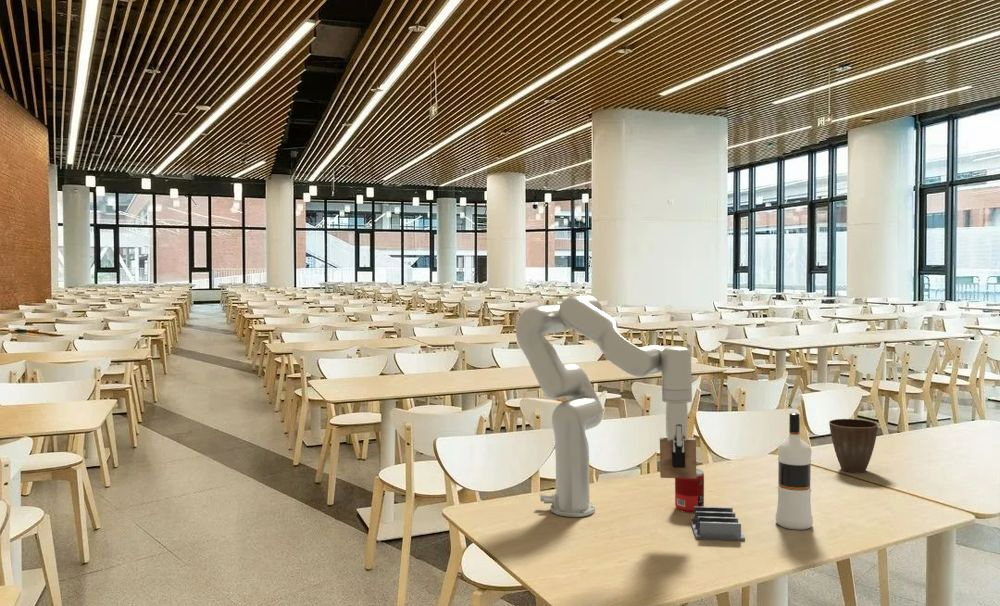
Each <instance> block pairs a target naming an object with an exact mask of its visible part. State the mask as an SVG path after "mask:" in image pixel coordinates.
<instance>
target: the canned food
mask: <svg viewBox="0 0 1000 606" xmlns="http://www.w3.org/2000/svg"><path fill="white" fill-rule="evenodd" d="M696 477H697V479H695V478H674V505H675V508H676V510H677V511H679V512H682V511H683V513H687V512H689V514H694V506H702V507H705V473H704V471H703V469H699V468H696ZM692 512H693V513H692Z"/></svg>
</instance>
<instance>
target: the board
mask: <svg viewBox="0 0 1000 606" xmlns="http://www.w3.org/2000/svg"><path fill="white" fill-rule="evenodd" d="M674 440H677V438H674ZM675 444H676V443H675ZM672 452H673V440H670V441H668V440H667V437H659V467H660V468H659V469H660V470H659V471H660V472H659V473H660V474H659V476H660V479H675V478H695V479H697V477H696V469H697V439H696V437H687V440H686V441H684V452H685V468H673V466H672Z"/></svg>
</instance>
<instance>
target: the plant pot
mask: <svg viewBox="0 0 1000 606" xmlns="http://www.w3.org/2000/svg"><path fill="white" fill-rule="evenodd" d="M828 425H829V430H830V436H831V441H832V443H833V445H832V446H833V448H834V452H835V456H836V458H837V461H838V463H839V466H840V469H841V470H842V471H844V470H845V471H844V472H847V471H849V472H848V473H853V472H861V473H865V472H866V470H867V469H868V466H869V463H870V461H871V458H872V456H873V452H874V448H875V444H876V439H877V435H878V430H879V429H878V428H879V424H878V423H877V422H874V421H870V420H864V419H858V418H857V419H856V418H836V419H832V420H829V422H828Z"/></svg>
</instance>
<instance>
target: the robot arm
mask: <svg viewBox="0 0 1000 606" xmlns="http://www.w3.org/2000/svg"><path fill="white" fill-rule="evenodd" d="M617 321H618V320H616V319H615V318H614V317H612V316H611V315H609V314H607V313H605V311H603V307H602V304H601V302H600V301H599V300H598V299H597V298H596V297H595V296H591V295H574V296H569V297H567V298H565V299H564V300H562V302H561V303H556V304H546V305H545V304H544V305H534V306H532V307H529V308H527V309H525V310H523V312H521V314H520V315H519V316H518V319H517V321H516V326H515V335H516V341H517V342H518V345H519V347H520V349H521V350H522V353H523V354H524V356H525V357H526V360H527V361H528V363H529V365H530V368H531V370H532V372H533V374H534V376H535V378H536V380H537V383H538V384H539V386H540V389H541V390H542V392H543V394H544V395H545V396H546V397H547V398H548V399H550V400H558V399H563V398H566V400H565V401H563V402H560V403H559V404H558V405H557V406H556V407H555V408H554V409H553V412H552V415H551V425H552V429H553V434H554V444H555V446H554V447H555V492H554V493H552V494H551V495H550V494H548V495H547V494H540V499H539V500H540V502H541V503H542V502H543V504H548V505H549V504H551V505H550V511H551V513H553V514H554V513H555V515H557V516H561V517H568V518H581V517H587V516H590V515H592V514H594V512H596V506H595V505H594V504H593V503H591V502H590V446H589V441H588V438H587V435H586V431H587V430H590V429H593V428H595V427H597V426H598V425H600V423H601V422H602V420H603V417H604V410H603V409H604V408H603V406H602V404H601V401H600V399H599V397H598V395H597V392H596V391H595V389H594V386H593V385H592V382H591V381H590V378H589V377H588V375H587V373H586V372H585V370H583V368H582V367H580V366H579V365H577V364H575V363H572V362H571V363H570V362H568V363H563V362H562V360H561V359H560V357H559V355H558V353H557V350H556V348H555V347H554V346H553V345H552V343H550V341H548V339H547V338H546V336H545V335H550V334H558V333H563V332H567V331H568V332H569V331H571V330H575V331H576V332H577V333H580V334H581V335H582V336H584V337H585V338H587V339H588V340H589V341H591V342H593V343H594V344H595V345H596V346H598V347H599V350H600V352H601V353H602V354H603V355H604V356H605V358H606V359H607V360H608V361H610V363H612V364H613V365H615V366H616V367H618V368H619V369H621V370H622V371H623V372H625V373H626V374H629V375H631V376H634V377H638V378H641V377H646V376H649V375H655V374H660V373H661V402H664V403H666V404H665V426H666V427H665V431H666V432H665V435H666V436H665V437H666V438H667V440H668V441H670V440H673V452H672V466H673V468H685V452H684V441H686V440H687V438H688V427H689V426H688V423H689V422H688V419H689V418H688V417H689V416H688V414H689V413H688V403H691V402H693V390H692V389H693V387H692V386H693V385H692V383H693V382H692V381H693V380H692V379H693V378H692V353H691V350H690V349H689V348H687V347H682V346H674V347H673V346H670V347H668V346H663V345H655V344H654V345H653V344H650V345H645V346H640V347H639V346H637V345H635V344H634V343H632V342H630V341H629V340H627V339H626V338H624V336H622V335H621V334H620V333H619V332H618V322H617ZM674 438H677V440H674ZM675 443H676V444H675Z"/></svg>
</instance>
